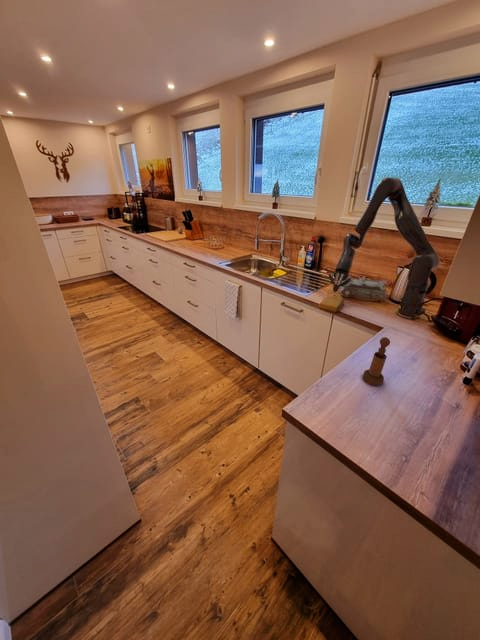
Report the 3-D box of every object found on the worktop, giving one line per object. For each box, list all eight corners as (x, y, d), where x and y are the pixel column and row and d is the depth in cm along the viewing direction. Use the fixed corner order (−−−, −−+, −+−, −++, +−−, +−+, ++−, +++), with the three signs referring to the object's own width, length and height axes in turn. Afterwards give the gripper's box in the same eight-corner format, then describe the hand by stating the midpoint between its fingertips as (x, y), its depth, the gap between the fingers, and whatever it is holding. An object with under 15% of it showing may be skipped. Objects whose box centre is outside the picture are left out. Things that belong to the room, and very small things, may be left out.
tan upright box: (344, 298, 152) (338, 307, 141) (343, 303, 153) (337, 312, 143) (326, 294, 157) (319, 303, 146) (325, 299, 158) (318, 308, 148)
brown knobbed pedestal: (365, 385, 93) (378, 342, 84) (360, 373, 99) (372, 332, 90) (384, 387, 92) (400, 344, 83) (379, 375, 98) (393, 334, 89)
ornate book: (337, 299, 160) (392, 304, 152) (340, 284, 156) (396, 289, 148) (337, 286, 179) (385, 290, 171) (339, 273, 175) (389, 276, 166)
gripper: (332, 259, 152) (322, 286, 149) (356, 263, 146) (346, 291, 142) (333, 266, 158) (323, 291, 155) (356, 270, 152) (346, 296, 149)
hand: (334, 291), depth 149 cm, fingers closed
